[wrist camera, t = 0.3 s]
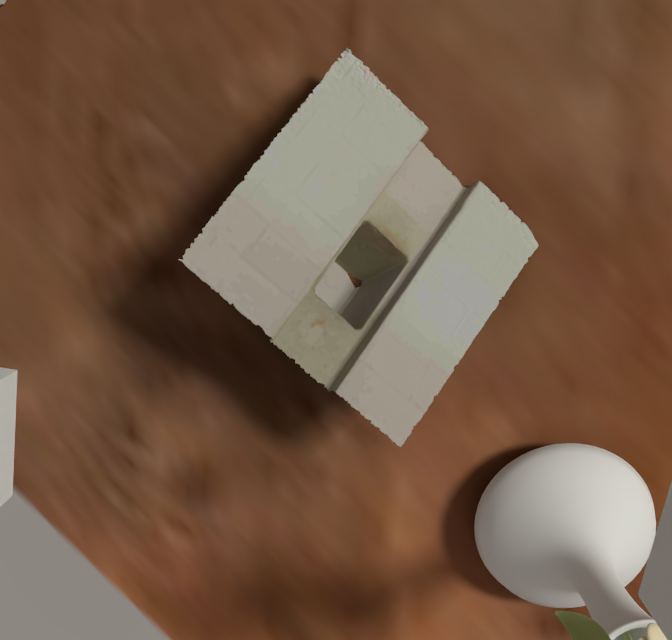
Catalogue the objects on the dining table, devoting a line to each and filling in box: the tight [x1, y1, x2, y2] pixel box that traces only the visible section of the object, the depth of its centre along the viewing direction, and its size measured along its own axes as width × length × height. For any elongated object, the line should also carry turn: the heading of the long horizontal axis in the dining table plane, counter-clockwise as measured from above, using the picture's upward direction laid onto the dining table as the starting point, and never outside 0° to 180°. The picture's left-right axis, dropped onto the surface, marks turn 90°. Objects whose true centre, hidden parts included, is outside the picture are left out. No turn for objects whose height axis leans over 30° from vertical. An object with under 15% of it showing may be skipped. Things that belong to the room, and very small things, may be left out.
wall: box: [178, 48, 538, 447], centre depth 36 cm, size 16×9×15 cm
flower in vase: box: [474, 443, 667, 640], centre depth 30 cm, size 13×11×25 cm
